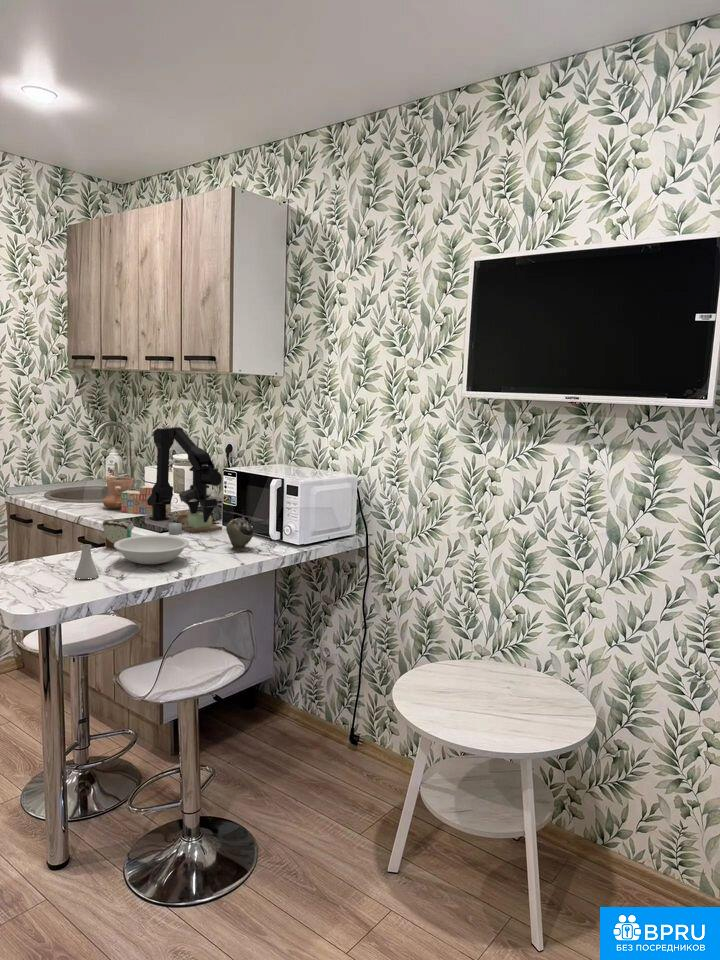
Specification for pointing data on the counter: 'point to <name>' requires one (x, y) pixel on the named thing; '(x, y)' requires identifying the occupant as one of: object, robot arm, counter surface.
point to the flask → (86, 564)
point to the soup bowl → (151, 548)
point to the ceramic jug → (116, 491)
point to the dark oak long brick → (183, 516)
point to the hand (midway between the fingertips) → (199, 520)
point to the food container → (116, 531)
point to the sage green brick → (198, 520)
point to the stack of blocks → (139, 501)
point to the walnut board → (202, 529)
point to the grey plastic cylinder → (175, 528)
